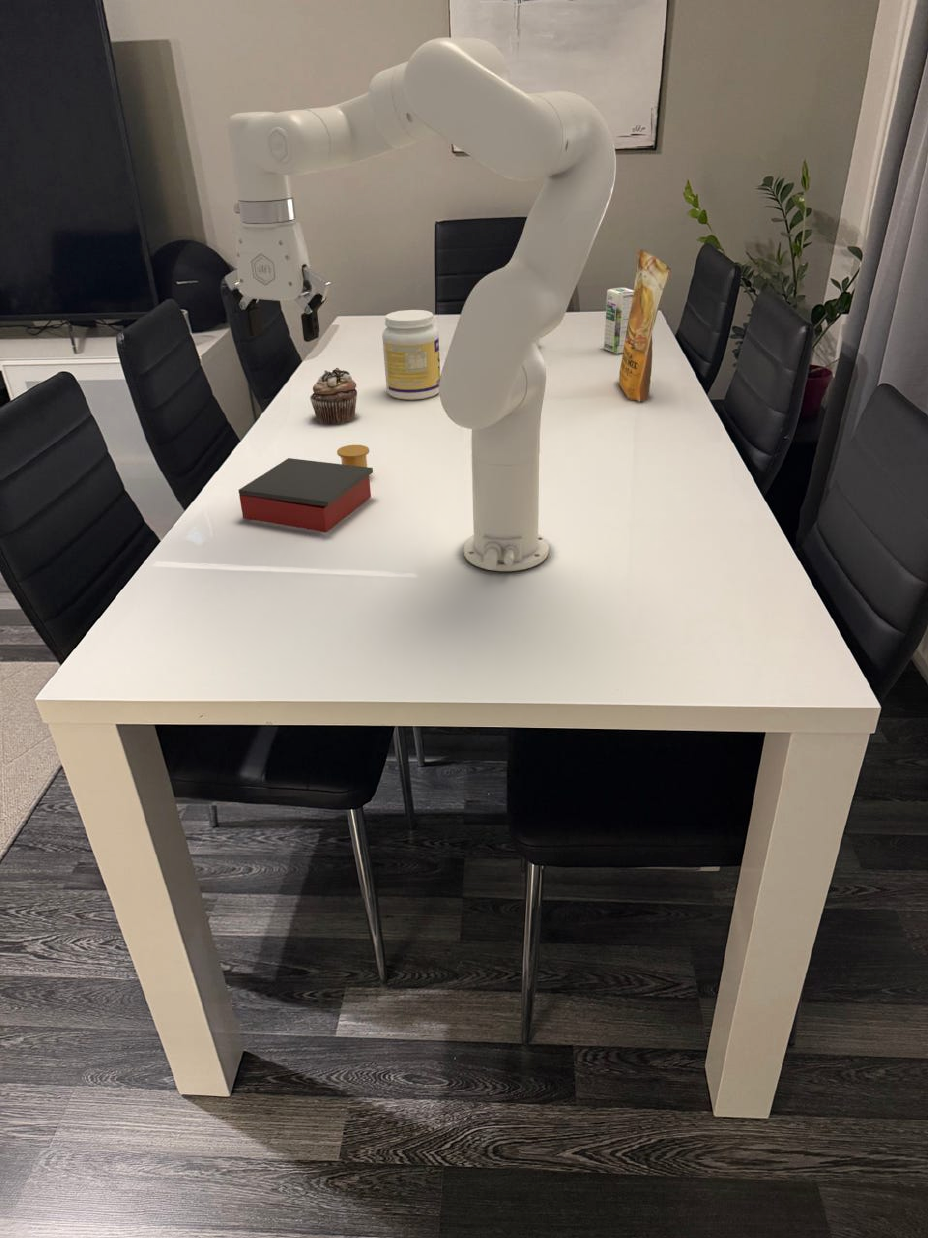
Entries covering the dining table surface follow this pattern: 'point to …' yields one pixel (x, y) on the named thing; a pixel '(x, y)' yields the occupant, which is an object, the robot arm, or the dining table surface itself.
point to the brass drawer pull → (353, 455)
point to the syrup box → (617, 318)
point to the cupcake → (334, 398)
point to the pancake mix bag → (642, 325)
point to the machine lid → (306, 482)
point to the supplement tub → (411, 354)
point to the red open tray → (305, 509)
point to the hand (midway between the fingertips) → (283, 337)
